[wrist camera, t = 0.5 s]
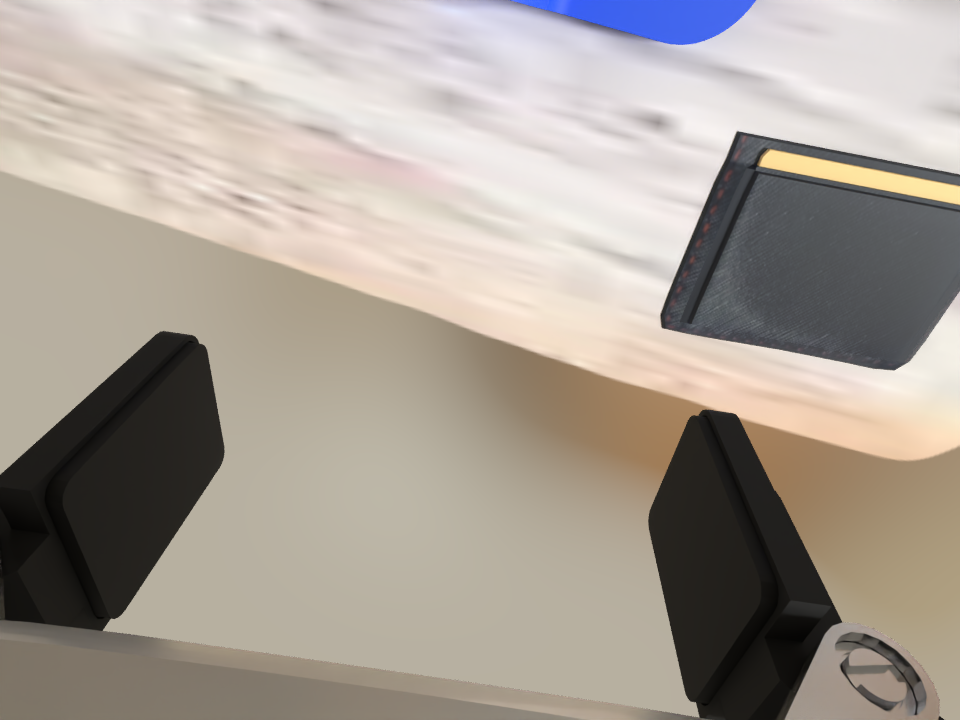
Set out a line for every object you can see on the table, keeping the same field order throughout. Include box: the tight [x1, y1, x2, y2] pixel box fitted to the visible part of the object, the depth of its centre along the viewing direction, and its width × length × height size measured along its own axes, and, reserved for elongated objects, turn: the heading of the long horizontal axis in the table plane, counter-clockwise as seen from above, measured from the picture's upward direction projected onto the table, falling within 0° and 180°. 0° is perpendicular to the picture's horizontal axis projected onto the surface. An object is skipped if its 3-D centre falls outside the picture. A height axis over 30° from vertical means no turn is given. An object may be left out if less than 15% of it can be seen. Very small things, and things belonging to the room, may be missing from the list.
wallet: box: [661, 132, 960, 370], centre depth 39 cm, size 20×2×15 cm
